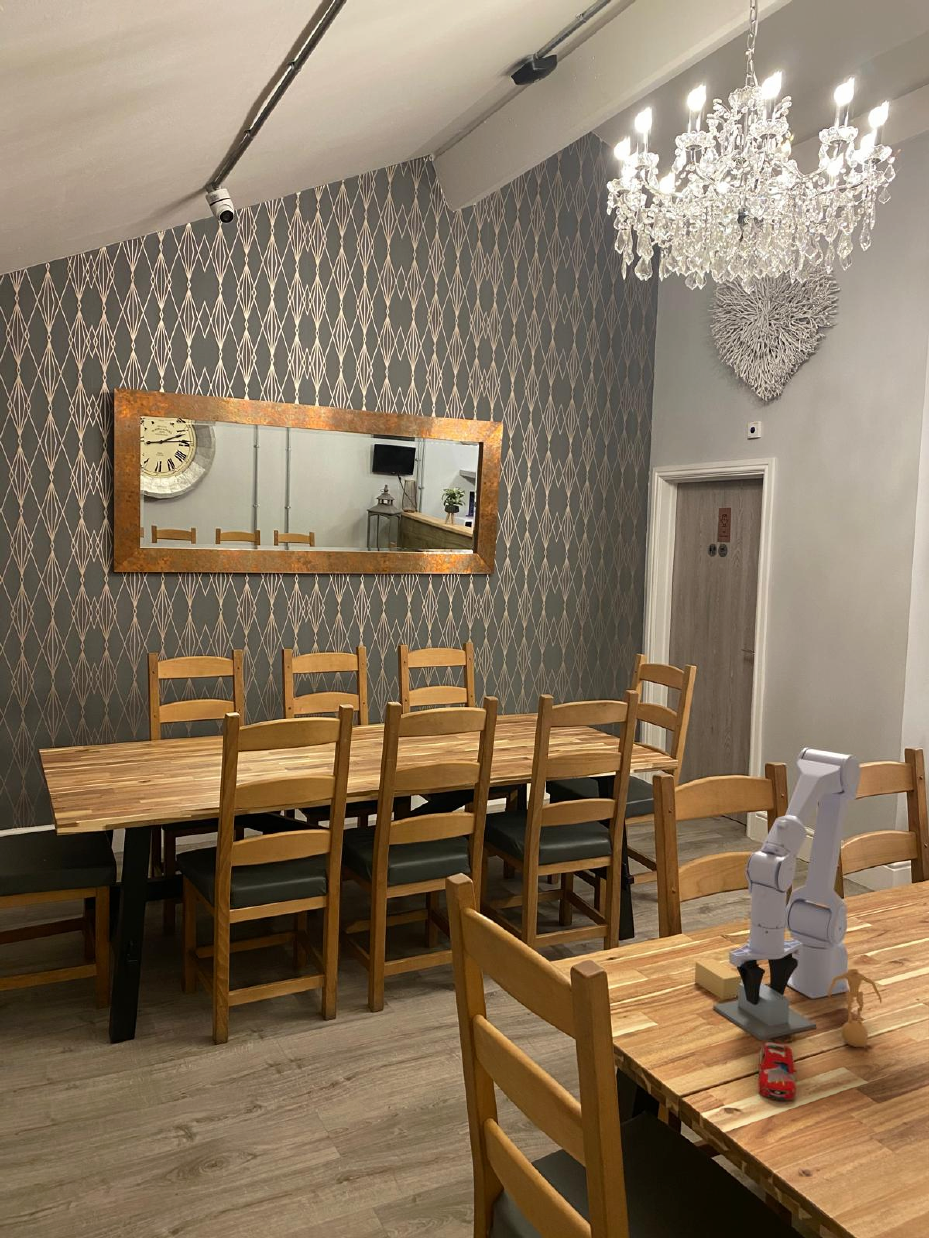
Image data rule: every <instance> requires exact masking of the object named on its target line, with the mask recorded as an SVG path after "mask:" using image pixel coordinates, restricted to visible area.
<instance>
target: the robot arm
mask: <svg viewBox="0 0 929 1238" xmlns="http://www.w3.org/2000/svg"><path fill="white" fill-rule="evenodd" d="M795 766H796V767H795V773H796V774H795V775H796V778H797V783H796V786H795V789H794V791H793V794H792V796H791V799H790V801H789V804H788V808H787V809H786V811H785V815H782V816H779V817H776V819H775V820H774V822H773V825H772V826H771V828H770V830H769V832H768V834H767V836H766V838H765V840H764V842H763V844H762V846H761V848H760V850H757V852H756V851H755V852H753V853H751V855H750V856H749V857H748V859H747V863H746V868H745V872H744V873H745V878H746V880H747V884H748V886H747V887H748V893H749V894H750V895H751V898H750V921H749V923H750V924H749V925H750V926H749V939H747V941H746V943H747V944H745V945H743V946H741V947H739V948H737V949H735V950H731V951H729V957H728V959H729V960H728V963H729V964H731V965H732V966H735V967H736V969H737V971H738V974H739V975H740V976H741V983H743V985H744V989H745V994H746V999H747V1001H748V1002H750V1003H752V1004H753V1005H758V1001H759V993H760V985H761V983H762V981H763V977H764V975H765V973H766V970H765V968H762V967H760V966H759V965H760V964H759V963H758V962H760V961H764V960H768V966H769V967H768V968H769V978H770V979H769V983H770V984H769V987H770V988H771V989H773V990H775V991H776V992H778V993H780V994H782V995H783V996H784V994H785V992H786V988H787V986H789V987H791V988H792V989H794V990H796V991H797V992H799V993H801V994H803V995H805V996H806V997H808V998H810V999H813V1000H814V999H818V998H823V997H829V995H828V991H829V989H830V986H831V984H832V982H833V979H834V978H835V977H836V976H839V975H842V974H844V973H847V972H848V962H849V961H848V960H849V957H848V956H849V955H848V950H847V948H846V945H845V944H844V943H843V941H844V940H845V936H846V934H847V929H848V920H847V913H848V912H847V911H848V907H847V906H848V905H847V904H846V902H845V901H843V899H842V898H841V897H840V895H838V893H837V892H836V891H835V883H836V878H837V870H838V865H839V860H840V858H839V857H840V852H841V846H842V841H843V834H844V827H845V822H846V816H847V810H848V805H849V804H848V803H849V802H852V801H855V800H857V795H858V793H859V785H860V780H861V773H862V772H861V771H862V769H861V766H860V762H859V760H858V758H857V756H855V754H845V753H839V752H833V751H825V750H820V749H814V748H811V747H805V748H803V749H802V750H801V751H800V752H799V753H798V756H797V759H796V762H795ZM817 805H818V807H817ZM816 807H817V813H816V818H815V824H814V831H813V836H812V837H813V838H812V843H811V848H810V855H809V860H808V866H807V873H806V878H805V879H806V880H805V884H804V885H801V886H800V887H798V888H796V889H793V891H791V893H790V896H789V901H788V904H787V896H788V895H787V893H788V890H789V889H790V888H791V885H792V884H793V883H794V880H795V872H796V868H797V860H796V859H797V857H798V854H799V853H800V851H801V848H802V846H803V844H804V843H805V840H806V839H807V835H808V831H807V829H806V827H805V826H806V823H807V822H808V821H809V819H810V817H811V816H812V814H813V813H814V810H815V808H816ZM811 902H813V903H811ZM815 903H817V904H815ZM786 930H787V931H788V932H790V934H789V935H790V938H792V939H789V940H785V936H786V935H785V934H786ZM847 984H848V981H847V979H846V978H844V979H840V980H836V982H835V984H834V987H833V989H832V990H831V992H832V994H831V995H836V994H840V993H846V990H849V992H850V987H849V986H848V985H847Z"/></svg>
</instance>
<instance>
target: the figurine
mask: <svg viewBox="0 0 929 1238" xmlns="http://www.w3.org/2000/svg"><path fill="white" fill-rule="evenodd" d="M844 978H846V979H847V984H848V987H849V988H850V991H849V990H846V992H845V1001H846V1005H847V1007H846V1009H847V1013H848V1014H847V1015H848V1019H847V1021H846V1022H845V1023H844V1024H842V1028H841V1036H842V1039H843V1040H844V1042H845V1043H846V1044H847V1045H849V1046H851V1047H852V1048H853V1047H854V1048H860V1047H863V1046H864V1045H865V1044H866V1043H867V1041H868V1039H869V1033H868V1030H867V1027H865V1025H864V1024H863V1022H862V1019H861V1018H862V1017H861V1012H862V1011H863V1008H864V997H863V996H864V992H863V991H862V990H861V991H859V989H860V987H861V985H862V981H864V982H866V983H868V984H870V985H871V986H872V988H873V990H874V992H875V993H876V995H877V996H878V1001H879V1003H880V1004H882V996H881V993H880V992H879V990H878V988H877V985H876V983H875V982H874V981H873V980H871V979H870V978H868V977H867V976H865V975H864V974H862V973H860V972H859V970H858V969H856V968H855V969H854V968H851V969H849V970H847V973H844V974H842V975H839V976H836V977H835V978H834V979H833V982H832V984H831V986H830V989H829V991H828V996H829V998H831V994H832V992H831V990H832V989H833V987H834V984H835V982H836V980H840V979H844ZM832 995H833V994H832ZM855 998H856V999H855ZM854 999H855V1000H856V1003H857V1004H858V1007H857V1015H856V1017H857V1019H856V1020H854V1019H853V1017H852V1004H853V1002H854Z"/></svg>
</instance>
